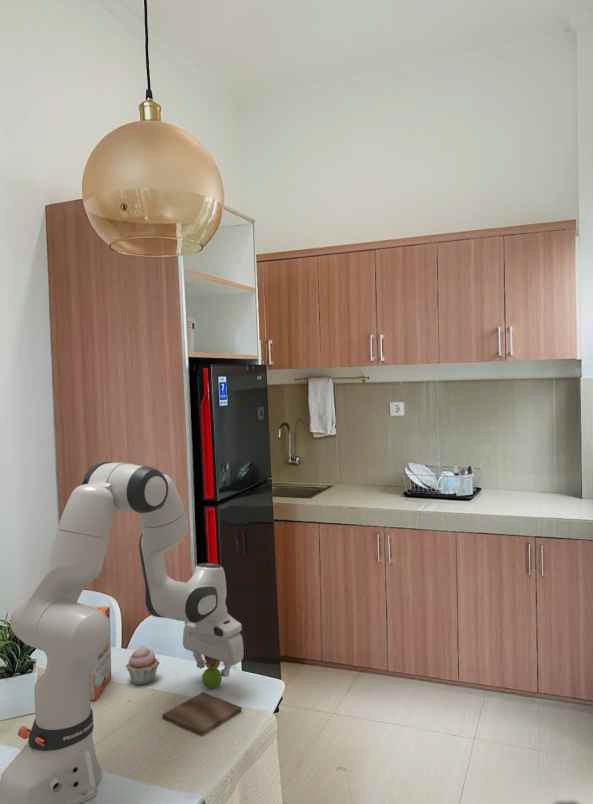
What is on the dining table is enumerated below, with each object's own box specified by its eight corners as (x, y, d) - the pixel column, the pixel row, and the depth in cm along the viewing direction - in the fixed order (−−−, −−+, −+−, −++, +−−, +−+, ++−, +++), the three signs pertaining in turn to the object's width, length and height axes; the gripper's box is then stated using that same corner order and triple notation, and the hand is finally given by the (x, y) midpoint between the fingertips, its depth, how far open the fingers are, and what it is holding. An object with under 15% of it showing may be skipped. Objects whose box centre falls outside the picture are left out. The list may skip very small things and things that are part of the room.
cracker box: (97, 701, 175) (94, 623, 174) (75, 701, 175) (71, 624, 174) (113, 677, 189) (110, 605, 188) (92, 677, 189) (89, 605, 188)
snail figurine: (215, 695, 176) (213, 651, 176) (198, 689, 180) (196, 645, 180) (228, 687, 181) (227, 644, 180) (212, 681, 184) (210, 639, 184)
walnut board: (201, 736, 156) (201, 731, 156) (162, 718, 165) (162, 714, 165) (241, 711, 167) (241, 707, 167) (202, 696, 176) (202, 692, 176)
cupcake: (150, 669, 193) (149, 636, 192) (165, 680, 186) (164, 646, 185) (120, 679, 187) (119, 645, 187) (134, 691, 180) (133, 655, 179)
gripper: (176, 617, 183) (178, 666, 184) (230, 633, 171) (231, 685, 171) (193, 610, 188) (194, 658, 189) (246, 625, 176) (248, 676, 176)
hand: (212, 671), depth 180 cm, fingers open, 8 cm apart
